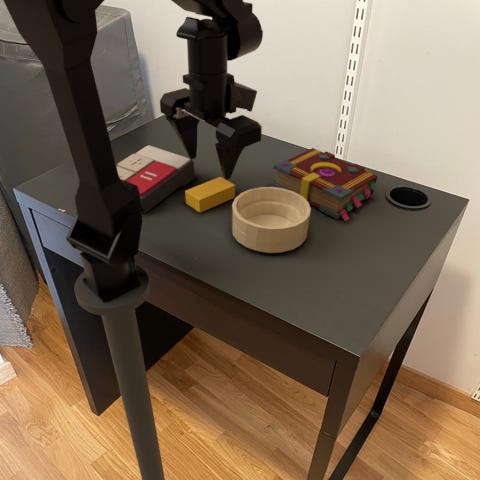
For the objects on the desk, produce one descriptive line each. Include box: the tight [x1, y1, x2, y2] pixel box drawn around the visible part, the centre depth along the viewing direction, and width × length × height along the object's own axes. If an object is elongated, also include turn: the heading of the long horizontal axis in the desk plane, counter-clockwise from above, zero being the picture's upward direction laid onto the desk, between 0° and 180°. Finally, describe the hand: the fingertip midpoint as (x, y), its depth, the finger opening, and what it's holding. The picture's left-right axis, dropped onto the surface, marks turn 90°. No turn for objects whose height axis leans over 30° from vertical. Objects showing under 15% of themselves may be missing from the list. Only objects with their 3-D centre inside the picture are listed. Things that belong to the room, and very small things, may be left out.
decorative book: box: [271, 147, 378, 222], centre depth 86 cm, size 11×16×5 cm
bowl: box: [231, 186, 312, 254], centre depth 77 cm, size 12×12×5 cm
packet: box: [184, 176, 236, 213], centre depth 85 cm, size 8×4×2 cm, turn 131°
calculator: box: [116, 144, 196, 214], centre depth 87 cm, size 11×4×15 cm
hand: (209, 168), depth 81 cm, fingers open, 9 cm apart
